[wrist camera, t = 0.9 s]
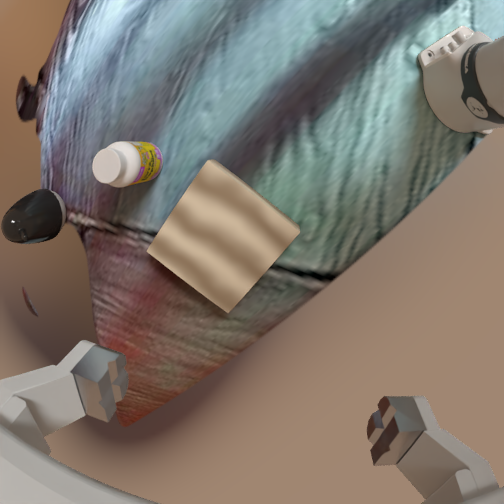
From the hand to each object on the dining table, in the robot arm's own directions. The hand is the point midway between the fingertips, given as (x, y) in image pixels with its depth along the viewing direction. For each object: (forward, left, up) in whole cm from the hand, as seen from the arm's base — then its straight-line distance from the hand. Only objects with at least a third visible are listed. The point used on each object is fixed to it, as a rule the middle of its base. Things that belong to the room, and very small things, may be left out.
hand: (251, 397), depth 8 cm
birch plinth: (+11, -3, -41) cm, 42 cm away
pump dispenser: (+29, -34, -41) cm, 61 cm away
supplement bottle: (+9, -21, -41) cm, 47 cm away
